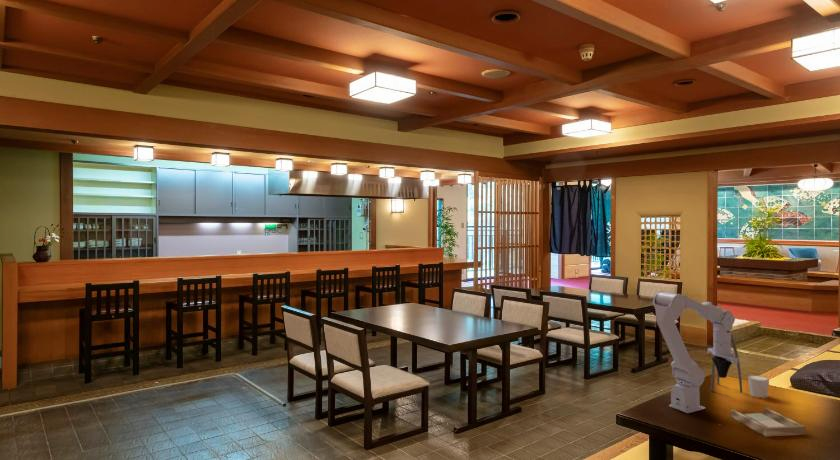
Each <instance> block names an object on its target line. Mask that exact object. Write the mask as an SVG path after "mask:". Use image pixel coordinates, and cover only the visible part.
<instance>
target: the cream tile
mask: <svg viewBox="0 0 840 460" xmlns="http://www.w3.org/2000/svg"><path fill="white" fill-rule="evenodd" d="M757 422H758V423H760V424H762V425H763V426H765V427H779V426H785V425H783V424H781V423H779V422H777V421H775V420H765V421H757Z"/></svg>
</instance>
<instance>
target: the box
mask: <svg viewBox="0 0 840 460" xmlns="http://www.w3.org/2000/svg"><path fill="white" fill-rule="evenodd" d="M763 414H764V415H766V416H768V417H770V418H772V419H774V420H775V421H777V422H779V423H781V424H783V425H785V426H779V427H765V426H763V425H762V424H760V423H758V422H756V421H754V420H752V419H751V418H749V417H747V416H745V414H744V413H741V412H739V411H738V410H736V409H731V410H730V417H731V418H732V417H733V419H734V420H736V421H737V422H739V423H741V424H743V425H744V426H747V428H748V427H749V428H750V429H752V430H753V431H755V432H757V433H759V434H760V435H762V436H764V437H765V438H766V437H769V438H770V437H781V436H782V437H783V436H785V437H786V436H799V435H800V436H801V435H806V434H807V433H806V432H807V431H806V426H805V425H803V424H801V423H799V422H797V421H795V420H793V419H791V418H789V417H788V416H785V415H782V413H779V412H777V411H774V410H773V409H770V408H769V407H764V408H763Z"/></svg>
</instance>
